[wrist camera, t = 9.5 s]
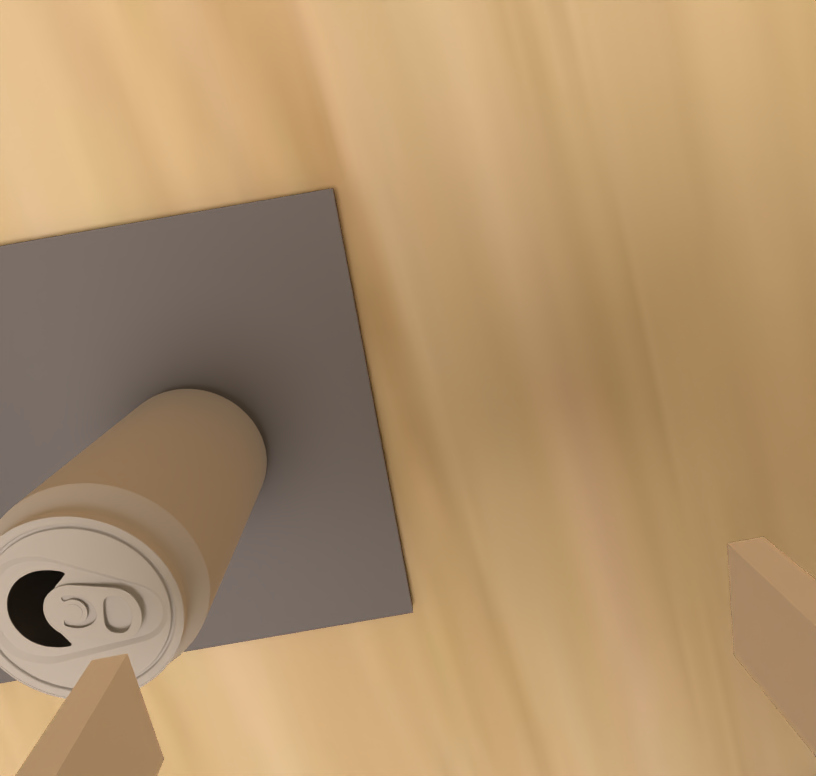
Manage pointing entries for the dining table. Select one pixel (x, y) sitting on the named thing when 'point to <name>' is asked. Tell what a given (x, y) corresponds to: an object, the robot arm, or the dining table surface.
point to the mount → (216, 391)
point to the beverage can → (128, 541)
